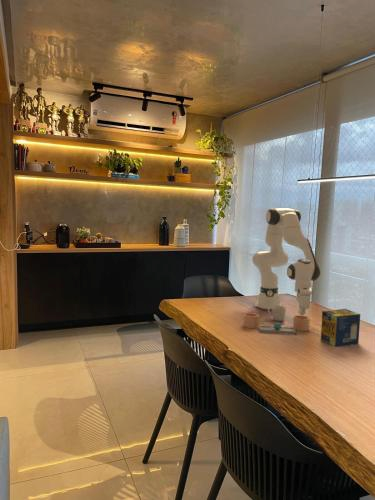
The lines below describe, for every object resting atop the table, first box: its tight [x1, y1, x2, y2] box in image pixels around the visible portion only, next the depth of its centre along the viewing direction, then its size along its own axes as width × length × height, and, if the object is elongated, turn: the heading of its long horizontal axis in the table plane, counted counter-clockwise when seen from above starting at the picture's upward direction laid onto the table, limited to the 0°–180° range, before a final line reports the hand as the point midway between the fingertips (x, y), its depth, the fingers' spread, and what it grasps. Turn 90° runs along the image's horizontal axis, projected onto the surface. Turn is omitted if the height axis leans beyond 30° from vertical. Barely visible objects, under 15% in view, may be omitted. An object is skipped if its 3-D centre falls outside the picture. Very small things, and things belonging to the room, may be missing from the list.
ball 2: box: [298, 308, 307, 316], centre depth 209 cm, size 4×4×4 cm
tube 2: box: [292, 314, 311, 332], centre depth 209 cm, size 9×9×7 cm
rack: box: [258, 325, 297, 335], centre depth 204 cm, size 19×8×2 cm, turn 83°
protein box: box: [320, 308, 361, 348], centre depth 188 cm, size 10×15×16 cm
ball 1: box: [273, 321, 282, 330], centre depth 204 cm, size 4×4×4 cm
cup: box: [267, 305, 287, 322], centre depth 226 cm, size 11×8×8 cm
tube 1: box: [242, 312, 260, 329], centre depth 213 cm, size 9×9×7 cm
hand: (302, 312), depth 209 cm, fingers closed on ball 2, 4 cm apart
